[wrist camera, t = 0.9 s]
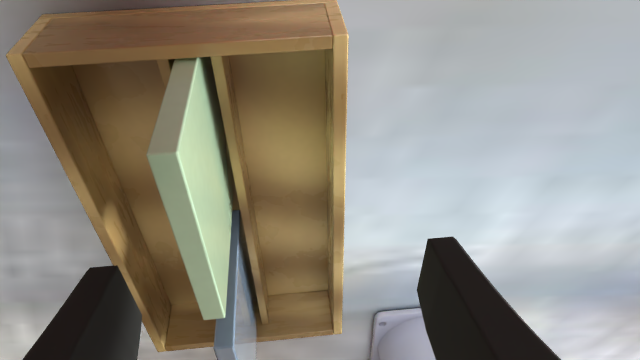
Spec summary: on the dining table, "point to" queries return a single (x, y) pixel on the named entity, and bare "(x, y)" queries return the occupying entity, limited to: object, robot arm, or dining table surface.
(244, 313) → the blue coaster
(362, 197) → the dining table surface
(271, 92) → the coaster basket
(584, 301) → the dining table surface
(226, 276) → the sage coaster
